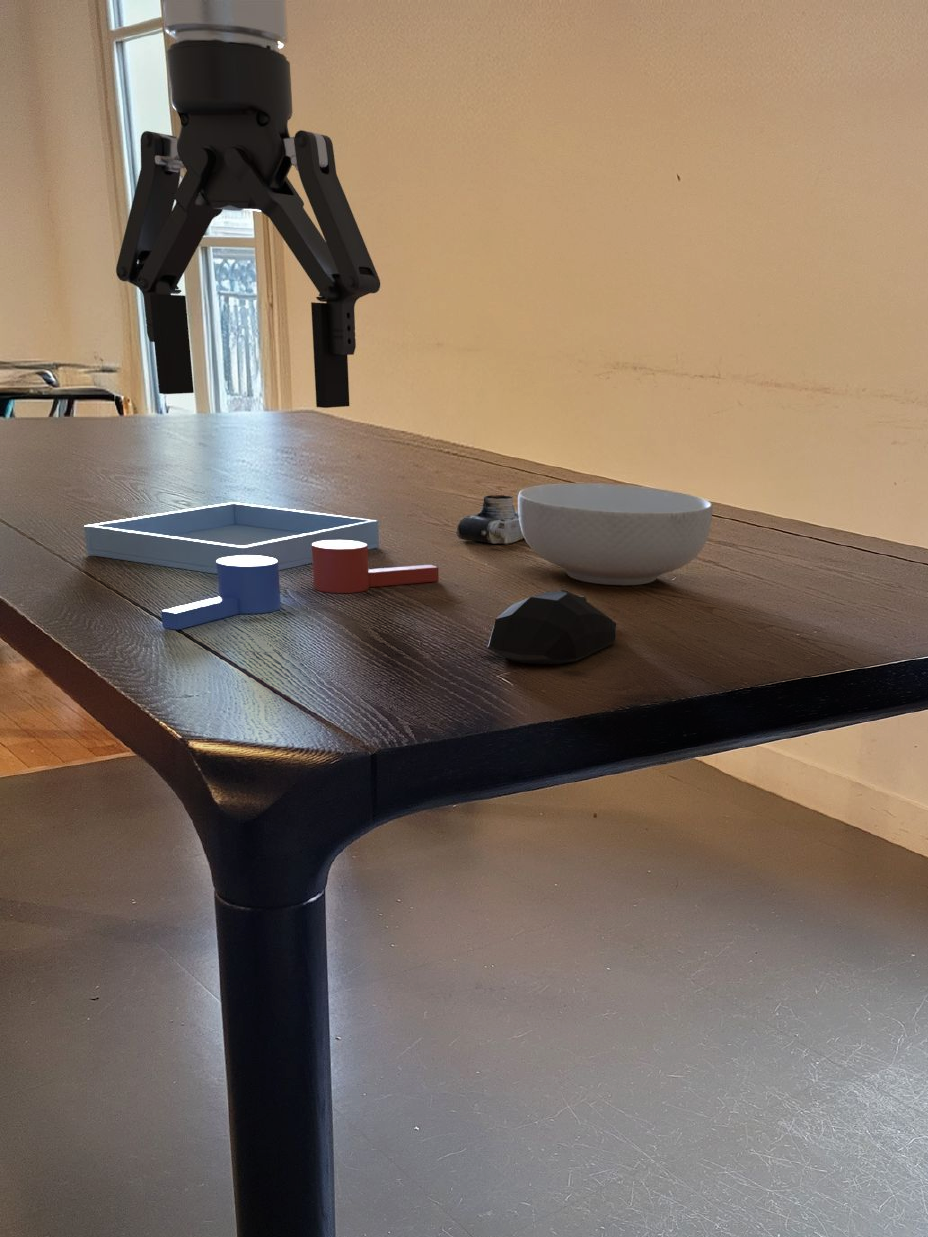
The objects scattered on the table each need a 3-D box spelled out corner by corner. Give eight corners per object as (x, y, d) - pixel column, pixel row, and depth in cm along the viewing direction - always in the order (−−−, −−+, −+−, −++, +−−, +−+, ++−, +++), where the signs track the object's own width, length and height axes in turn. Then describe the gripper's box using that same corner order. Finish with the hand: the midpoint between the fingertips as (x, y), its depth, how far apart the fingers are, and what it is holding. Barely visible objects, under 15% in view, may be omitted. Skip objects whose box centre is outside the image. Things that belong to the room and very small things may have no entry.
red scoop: (327, 595, 103) (325, 550, 101) (305, 584, 106) (302, 541, 104) (447, 584, 109) (447, 542, 107) (423, 575, 112) (422, 534, 110)
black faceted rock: (651, 632, 96) (654, 578, 94) (551, 675, 84) (552, 613, 82) (577, 620, 98) (578, 567, 97) (469, 660, 86) (469, 600, 84)
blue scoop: (246, 599, 100) (243, 553, 99) (293, 606, 98) (290, 559, 97) (145, 624, 91) (140, 574, 89) (195, 633, 89) (190, 582, 88)
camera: (551, 534, 135) (552, 493, 133) (495, 547, 126) (495, 503, 124) (511, 528, 137) (511, 488, 135) (453, 541, 128) (452, 497, 127)
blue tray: (87, 554, 113) (83, 525, 112) (234, 527, 129) (232, 502, 128) (245, 578, 107) (243, 547, 106) (379, 547, 123) (378, 520, 122)
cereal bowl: (551, 599, 105) (552, 510, 102) (494, 562, 119) (494, 482, 116) (739, 593, 111) (745, 508, 108) (664, 558, 125) (668, 482, 122)
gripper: (427, 53, 81) (434, 410, 89) (121, 62, 90) (153, 386, 98) (357, 28, 75) (370, 415, 83) (34, 41, 84) (76, 389, 92)
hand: (252, 400), depth 91 cm, fingers open, 13 cm apart
